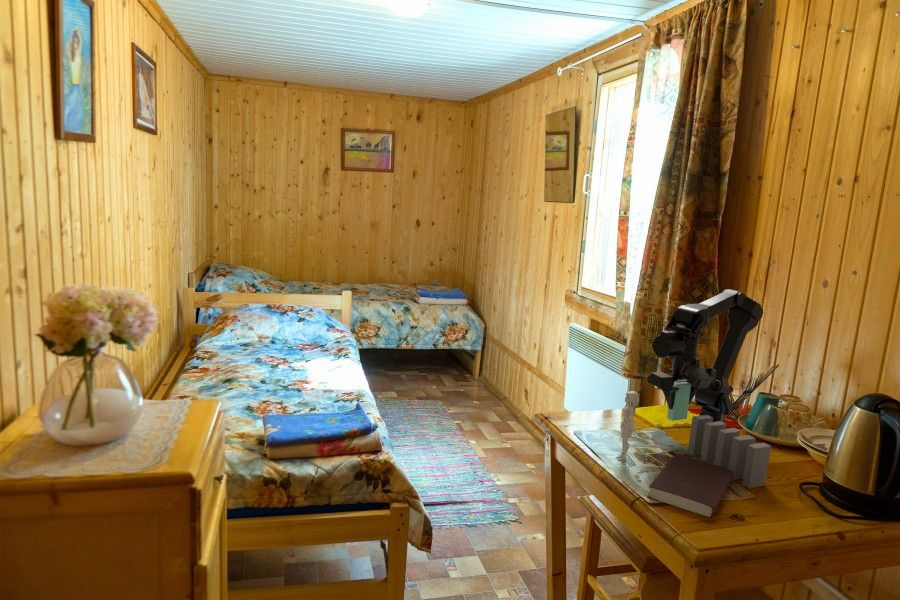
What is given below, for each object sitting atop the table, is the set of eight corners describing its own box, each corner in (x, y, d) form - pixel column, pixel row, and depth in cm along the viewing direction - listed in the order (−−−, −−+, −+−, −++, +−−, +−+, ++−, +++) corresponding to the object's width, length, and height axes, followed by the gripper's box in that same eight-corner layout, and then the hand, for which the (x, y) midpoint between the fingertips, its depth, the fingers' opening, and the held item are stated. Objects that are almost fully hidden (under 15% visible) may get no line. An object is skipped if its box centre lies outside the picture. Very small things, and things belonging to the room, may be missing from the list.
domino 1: (702, 450, 166) (707, 414, 164) (707, 453, 164) (713, 417, 162) (687, 452, 164) (692, 416, 162) (693, 455, 162) (698, 419, 160)
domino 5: (757, 481, 149) (764, 442, 147) (764, 485, 147) (771, 446, 146) (741, 484, 147) (748, 444, 145) (748, 488, 146) (755, 448, 144)
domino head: (681, 416, 173) (685, 381, 171) (686, 418, 171) (691, 384, 169) (667, 418, 171) (671, 383, 169) (672, 420, 169) (676, 385, 167)
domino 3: (728, 465, 157) (734, 427, 156) (734, 468, 156) (740, 431, 154) (713, 467, 156) (718, 429, 154) (719, 471, 154) (725, 433, 152)
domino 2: (715, 457, 162) (720, 421, 160) (721, 460, 160) (726, 424, 158) (700, 459, 160) (705, 423, 158) (705, 463, 158) (711, 426, 156)
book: (732, 483, 149) (734, 469, 148) (712, 521, 131) (714, 505, 130) (672, 465, 157) (674, 452, 156) (645, 499, 139) (647, 483, 138)
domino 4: (742, 473, 153) (748, 435, 151) (749, 476, 152) (755, 438, 150) (727, 475, 152) (733, 437, 150) (733, 479, 150) (739, 440, 148)
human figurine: (612, 448, 163) (620, 383, 160) (627, 449, 163) (635, 384, 160) (620, 469, 152) (628, 399, 148) (636, 470, 151) (644, 400, 148)
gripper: (678, 364, 156) (671, 422, 159) (735, 359, 163) (727, 415, 166) (649, 352, 167) (643, 407, 170) (703, 348, 173) (696, 401, 177)
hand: (678, 408), depth 170 cm, fingers closed on domino head, 5 cm apart
